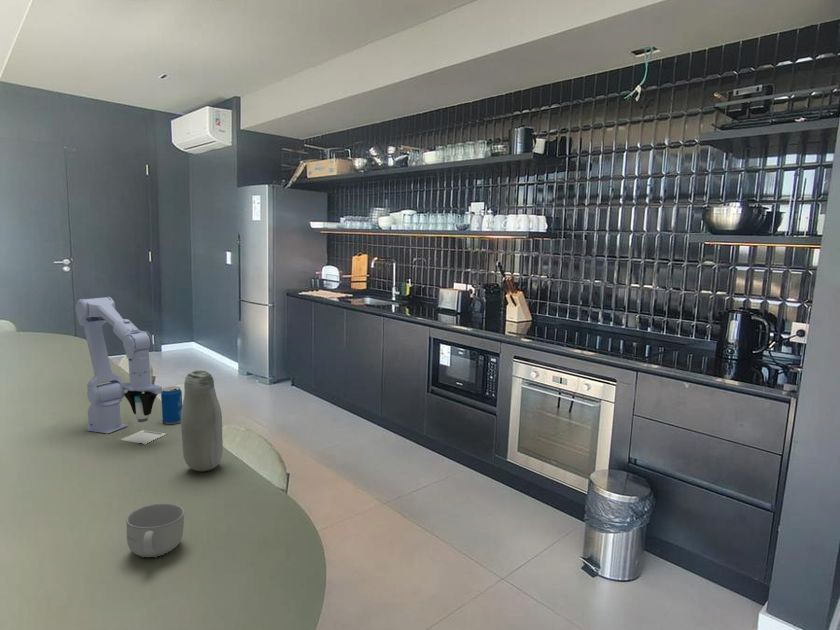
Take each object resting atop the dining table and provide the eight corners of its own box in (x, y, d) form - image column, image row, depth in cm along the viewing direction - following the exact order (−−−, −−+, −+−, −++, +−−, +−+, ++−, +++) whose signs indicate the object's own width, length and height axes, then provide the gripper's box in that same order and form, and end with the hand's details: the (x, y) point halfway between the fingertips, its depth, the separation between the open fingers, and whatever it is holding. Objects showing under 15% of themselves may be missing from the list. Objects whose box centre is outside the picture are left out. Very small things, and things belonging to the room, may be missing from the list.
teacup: (141, 536, 117) (139, 501, 116) (193, 534, 118) (191, 500, 117) (110, 576, 103) (107, 537, 102) (169, 573, 104) (167, 535, 103)
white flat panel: (120, 440, 171) (120, 439, 171) (142, 431, 179) (142, 429, 179) (145, 444, 168) (145, 443, 168) (167, 434, 176) (167, 433, 176)
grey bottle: (230, 464, 154) (226, 368, 150) (205, 479, 145) (200, 377, 141) (202, 459, 157) (197, 365, 153) (176, 473, 148) (170, 374, 144)
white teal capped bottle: (133, 421, 168) (131, 396, 167) (142, 417, 171) (141, 393, 170) (143, 423, 167) (141, 398, 165) (152, 419, 170) (150, 394, 169)
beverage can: (175, 425, 185) (173, 391, 183) (158, 424, 186) (156, 390, 184) (187, 419, 191) (185, 386, 189) (170, 418, 192) (168, 385, 191)
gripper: (110, 372, 165) (113, 415, 167) (148, 376, 161) (151, 420, 163) (129, 367, 172) (131, 408, 174) (166, 371, 167) (168, 413, 169)
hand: (142, 413), depth 169 cm, fingers closed on white teal capped bottle, 3 cm apart
